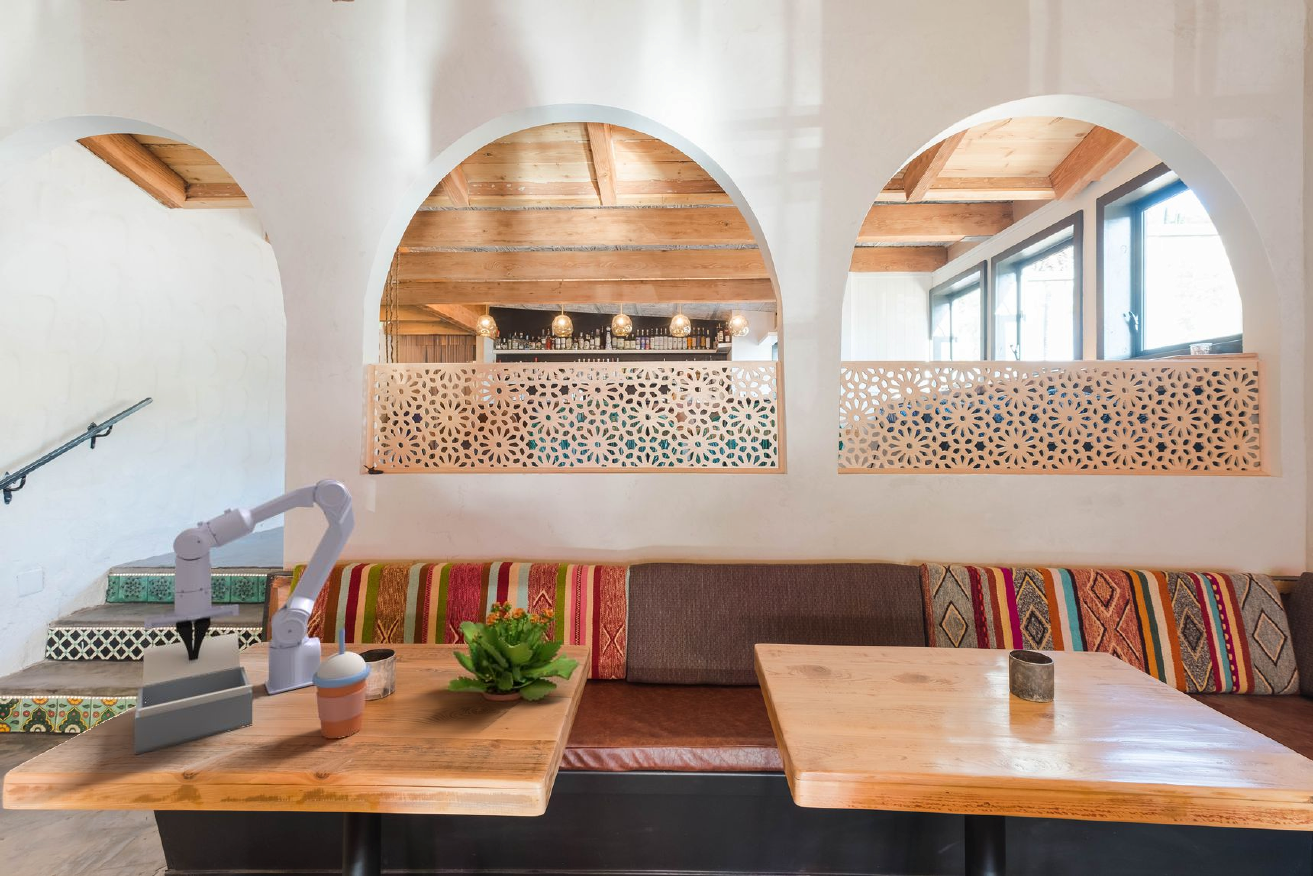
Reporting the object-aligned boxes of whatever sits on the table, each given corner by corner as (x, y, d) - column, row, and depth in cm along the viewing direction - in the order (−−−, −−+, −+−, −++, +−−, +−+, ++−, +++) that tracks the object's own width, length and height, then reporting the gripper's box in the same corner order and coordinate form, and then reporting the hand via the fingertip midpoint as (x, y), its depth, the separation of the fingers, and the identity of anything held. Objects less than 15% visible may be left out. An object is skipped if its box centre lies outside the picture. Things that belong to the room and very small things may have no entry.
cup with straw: (310, 749, 99) (310, 640, 99) (313, 726, 107) (313, 626, 107) (371, 736, 103) (371, 632, 103) (369, 715, 111) (369, 619, 111)
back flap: (240, 666, 119) (239, 667, 119) (237, 632, 124) (237, 633, 124) (142, 685, 110) (142, 686, 110) (143, 648, 114) (144, 649, 115)
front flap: (252, 684, 102) (252, 685, 101) (248, 691, 107) (248, 693, 107) (138, 709, 92) (138, 711, 92) (139, 716, 98) (139, 718, 97)
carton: (243, 696, 120) (243, 666, 120) (252, 725, 107) (252, 691, 107) (138, 720, 109) (138, 687, 110) (134, 755, 97) (134, 718, 97)
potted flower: (468, 733, 104) (468, 633, 104) (419, 691, 122) (419, 606, 122) (586, 693, 120) (585, 606, 121) (528, 661, 138) (528, 586, 138)
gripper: (144, 599, 109) (144, 673, 109) (240, 586, 118) (240, 655, 118) (144, 592, 114) (144, 663, 114) (236, 581, 124) (236, 646, 123)
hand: (193, 658), depth 116 cm, fingers closed, pressing on back flap
